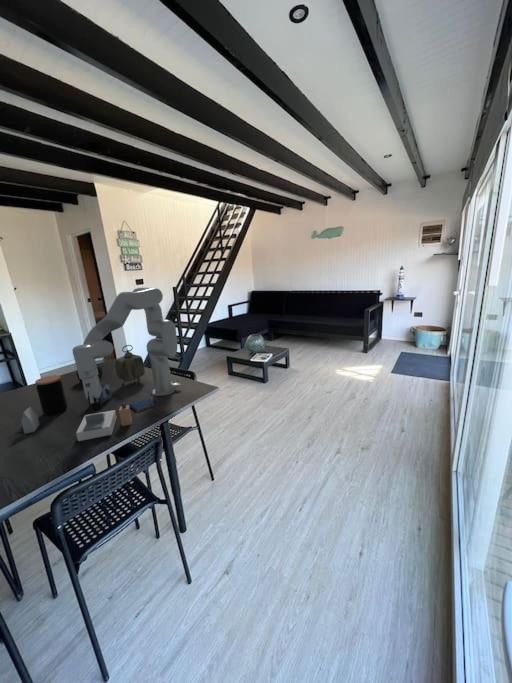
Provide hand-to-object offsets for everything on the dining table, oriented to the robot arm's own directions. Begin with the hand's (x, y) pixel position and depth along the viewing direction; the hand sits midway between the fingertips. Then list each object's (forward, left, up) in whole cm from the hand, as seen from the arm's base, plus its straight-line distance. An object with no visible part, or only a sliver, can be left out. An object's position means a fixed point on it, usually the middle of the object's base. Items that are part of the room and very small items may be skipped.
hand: (97, 409), depth 133 cm
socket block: (+1, +2, -8) cm, 8 cm away
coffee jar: (+26, -26, -8) cm, 37 cm away
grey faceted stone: (+31, -10, -9) cm, 33 cm away
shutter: (+1, +7, -4) cm, 8 cm away
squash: (+17, -66, -9) cm, 68 cm away
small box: (+5, -28, -9) cm, 30 cm away
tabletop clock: (-10, -49, -8) cm, 51 cm away
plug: (-11, +2, -8) cm, 14 cm away
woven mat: (-17, -14, -9) cm, 24 cm away
